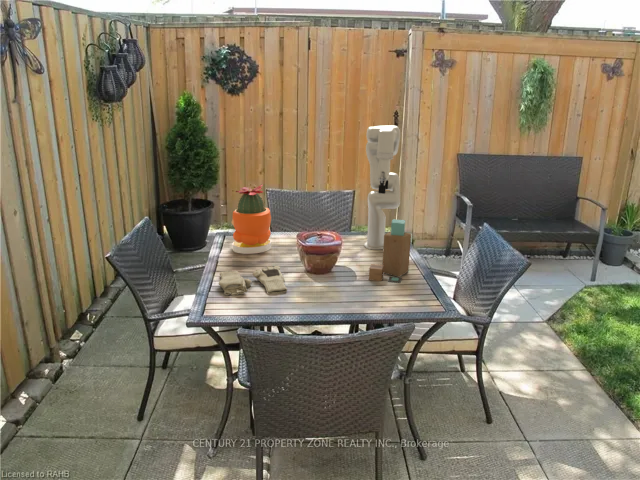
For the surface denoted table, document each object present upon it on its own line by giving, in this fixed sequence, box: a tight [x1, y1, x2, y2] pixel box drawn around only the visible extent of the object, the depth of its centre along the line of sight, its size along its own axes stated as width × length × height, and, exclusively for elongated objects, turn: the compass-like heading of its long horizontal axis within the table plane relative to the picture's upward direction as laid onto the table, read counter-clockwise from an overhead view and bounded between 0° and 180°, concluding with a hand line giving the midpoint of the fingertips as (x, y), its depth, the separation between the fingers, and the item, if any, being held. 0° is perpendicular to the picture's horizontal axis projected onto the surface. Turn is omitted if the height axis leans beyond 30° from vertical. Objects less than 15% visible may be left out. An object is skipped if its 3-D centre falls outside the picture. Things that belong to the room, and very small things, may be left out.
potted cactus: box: [231, 184, 272, 255], centre depth 287 cm, size 22×22×35 cm
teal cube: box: [390, 218, 406, 236], centre depth 257 cm, size 6×6×6 cm
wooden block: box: [381, 231, 412, 278], centre depth 261 cm, size 10×10×20 cm
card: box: [387, 275, 403, 284], centre depth 254 cm, size 6×6×1 cm
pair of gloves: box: [218, 265, 288, 297], centre depth 247 cm, size 30×26×5 cm
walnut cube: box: [368, 263, 384, 282], centre depth 255 cm, size 6×6×6 cm
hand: (383, 191), depth 261 cm, fingers open, 9 cm apart
